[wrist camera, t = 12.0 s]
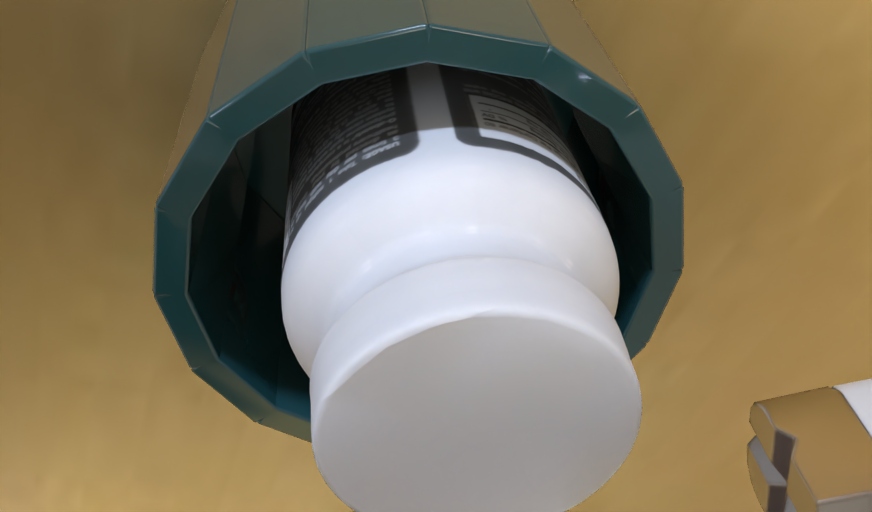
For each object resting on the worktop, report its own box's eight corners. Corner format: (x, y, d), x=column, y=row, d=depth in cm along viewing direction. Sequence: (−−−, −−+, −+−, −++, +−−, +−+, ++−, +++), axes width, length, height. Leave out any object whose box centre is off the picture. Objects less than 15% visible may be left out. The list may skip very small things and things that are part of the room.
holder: (271, 285, 23) (251, 493, 18) (142, -45, 18) (54, 103, 12) (598, 218, 23) (684, 407, 17) (572, -139, 17) (685, -32, 12)
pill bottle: (323, 232, 21) (318, 587, 13) (264, 18, 18) (208, 325, 10) (545, 193, 21) (672, 526, 13) (528, -29, 18) (685, 241, 10)
